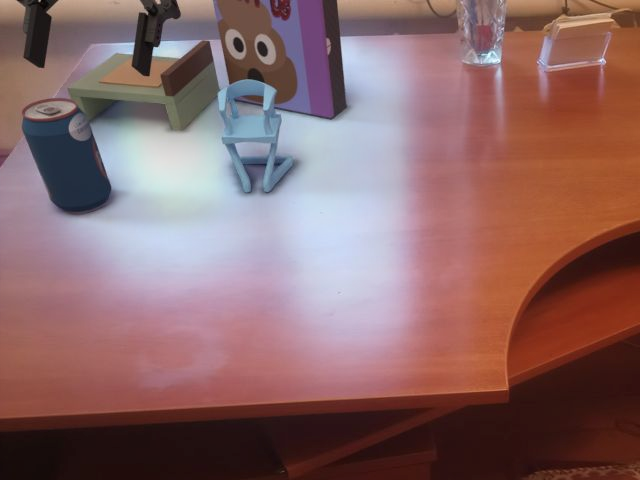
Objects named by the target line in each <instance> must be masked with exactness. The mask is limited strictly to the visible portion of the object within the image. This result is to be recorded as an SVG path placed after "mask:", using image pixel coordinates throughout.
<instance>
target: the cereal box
mask: <svg viewBox="0 0 640 480" xmlns="http://www.w3.org/2000/svg"><path fill="white" fill-rule="evenodd" d="M212 3H213V9H214V13H215V17H216V18H215V19H216V24H217V28H218V29H217V30H218V33H219V39H220V45H221V50H222V55H223V59H224V65H225V69H226V75H227V80H228V84H229V85H231V84H233V83H235V82H237V81H241V80H246V79H249V80H256V81H259V82H262V83H265V84H267V85H269V86H271V87H273V88H275V89H276V90H277V93H276V95H275V100H274V109H275V110H282V111H286V112H291V113H296V114H300V115H301V114H302V115H307V116H310V117H311V116H312V117H317V118H322V119H327V120H333V119H334V118H336V117H337V116H338V115H339V114H341V113H342V112H343V111H344V110H345V109H347V97H346V95H347V94H346V86H345V85H346V84H345V74H344V64H343V63H344V62H343V55H342V54H343V51H342V41H341V30H340V17H339V6H338V0H212ZM229 85H228V86H229ZM233 99H234V101H235V102H240V103H244V104H250V105H256V106H261V107H263V104H264V96H259V95H244V96H238V97H235V98H233Z"/></svg>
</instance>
